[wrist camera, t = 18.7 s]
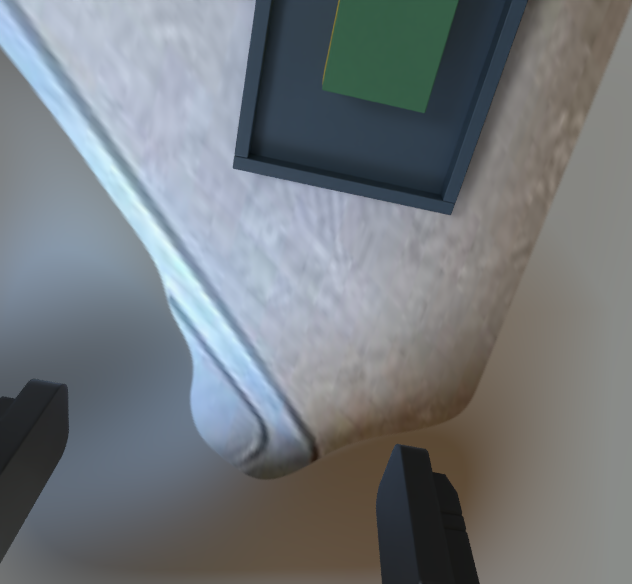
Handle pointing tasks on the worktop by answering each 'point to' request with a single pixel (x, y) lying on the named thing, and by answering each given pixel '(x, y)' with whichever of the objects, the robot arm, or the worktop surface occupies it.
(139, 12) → the worktop surface
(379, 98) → the sponge
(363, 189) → the tray
